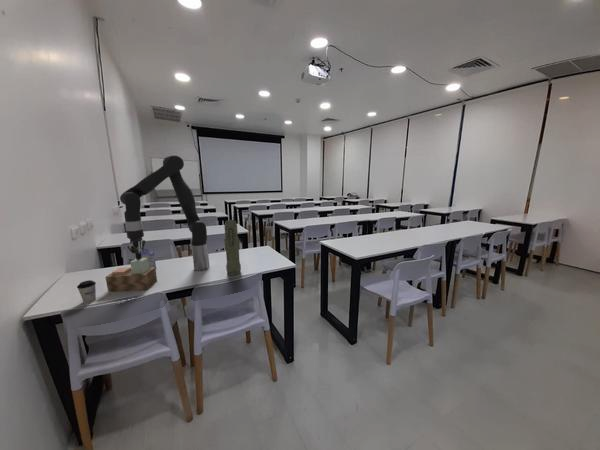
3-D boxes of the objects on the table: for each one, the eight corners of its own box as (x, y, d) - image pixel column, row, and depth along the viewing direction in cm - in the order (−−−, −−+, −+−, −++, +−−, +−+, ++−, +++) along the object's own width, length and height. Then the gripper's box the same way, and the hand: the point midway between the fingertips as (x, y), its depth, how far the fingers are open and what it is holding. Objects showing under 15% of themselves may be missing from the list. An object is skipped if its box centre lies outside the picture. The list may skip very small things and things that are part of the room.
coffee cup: (77, 302, 113) (73, 284, 111) (93, 296, 119) (90, 278, 117) (85, 305, 110) (81, 286, 108) (102, 298, 117) (98, 280, 115)
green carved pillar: (239, 269, 154) (236, 218, 148) (242, 275, 144) (238, 221, 137) (226, 271, 151) (222, 219, 144) (227, 278, 140) (223, 222, 134)
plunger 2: (150, 273, 133) (147, 257, 131) (144, 278, 127) (141, 261, 125) (139, 274, 132) (136, 258, 130) (132, 278, 126) (130, 261, 124)
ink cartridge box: (156, 268, 157) (153, 248, 154) (155, 270, 152) (152, 250, 150) (139, 270, 153) (136, 250, 150) (137, 273, 148) (134, 252, 145)
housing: (157, 281, 136) (155, 267, 135) (147, 290, 126) (145, 274, 124) (121, 283, 134) (119, 268, 132) (108, 292, 123) (105, 276, 122)
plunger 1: (133, 283, 133) (130, 267, 131) (126, 288, 127) (123, 271, 125) (122, 284, 132) (119, 267, 130) (115, 288, 126) (112, 272, 124)
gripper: (134, 231, 118) (139, 263, 121) (148, 226, 131) (152, 255, 134) (119, 231, 117) (124, 263, 120) (134, 226, 130) (138, 255, 133)
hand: (139, 259), depth 127 cm, fingers closed
